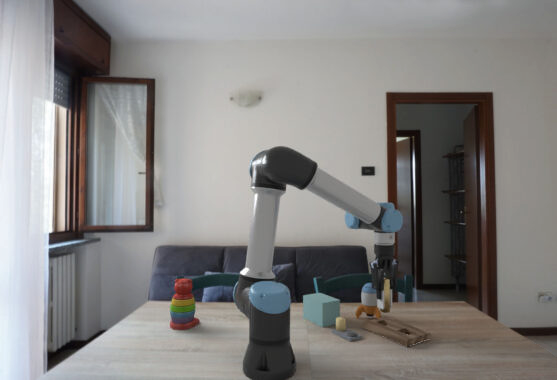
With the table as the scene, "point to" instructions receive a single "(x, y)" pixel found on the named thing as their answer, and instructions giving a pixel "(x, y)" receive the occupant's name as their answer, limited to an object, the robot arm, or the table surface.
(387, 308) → the peg
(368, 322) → the board
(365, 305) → the toy rocket
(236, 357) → the table surface
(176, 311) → the stacking bear
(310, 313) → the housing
